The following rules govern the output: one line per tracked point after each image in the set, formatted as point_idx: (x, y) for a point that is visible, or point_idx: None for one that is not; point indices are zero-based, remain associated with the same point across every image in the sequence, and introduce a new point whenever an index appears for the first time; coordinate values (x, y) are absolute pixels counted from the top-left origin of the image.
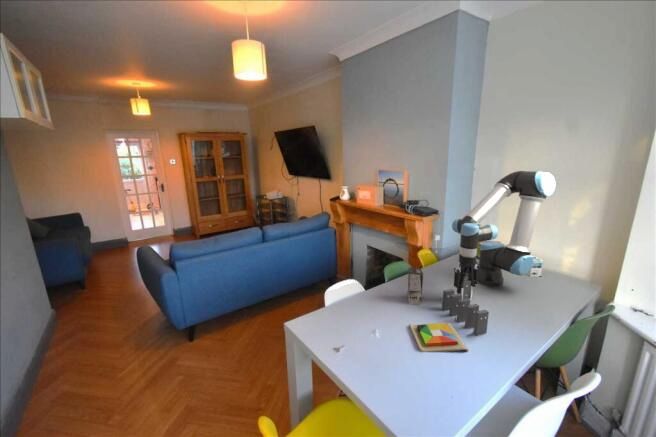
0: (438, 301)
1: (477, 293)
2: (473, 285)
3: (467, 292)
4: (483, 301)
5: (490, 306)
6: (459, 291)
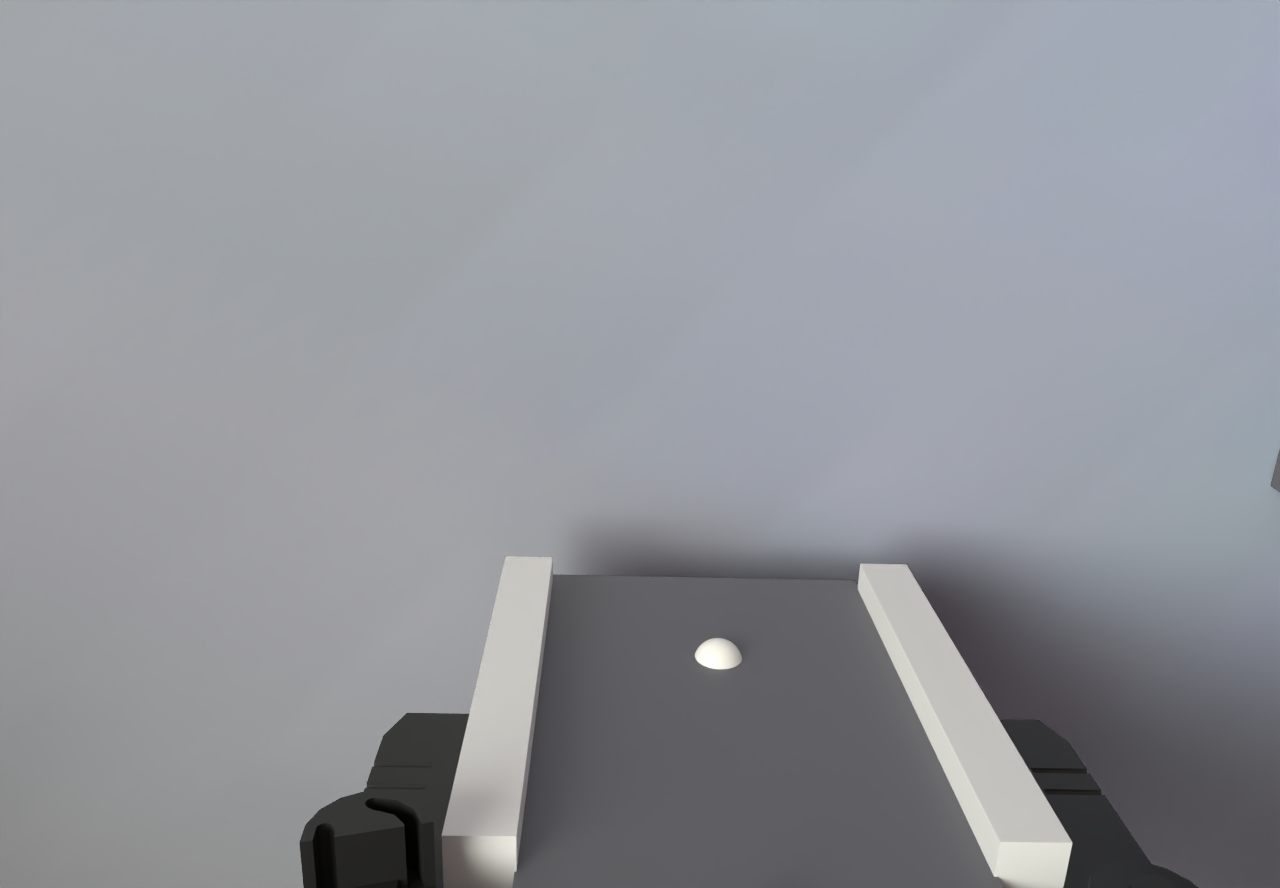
0: (1273, 808)
1: (13, 799)
2: (399, 878)
3: (683, 712)
4: (153, 434)
5: (155, 140)
6: (1089, 797)
